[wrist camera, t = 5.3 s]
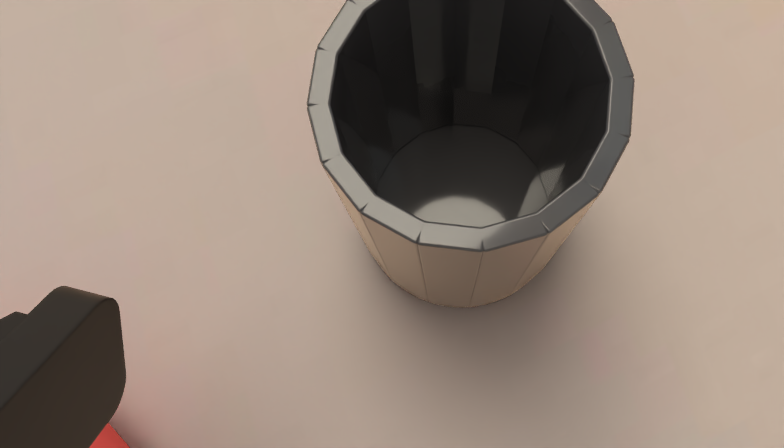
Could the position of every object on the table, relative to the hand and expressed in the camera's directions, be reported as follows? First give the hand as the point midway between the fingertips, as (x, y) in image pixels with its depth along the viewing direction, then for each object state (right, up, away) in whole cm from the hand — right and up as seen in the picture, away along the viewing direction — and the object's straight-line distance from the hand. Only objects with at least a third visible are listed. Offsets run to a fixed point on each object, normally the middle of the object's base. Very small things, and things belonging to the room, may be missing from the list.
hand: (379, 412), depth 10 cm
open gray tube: (+2, +3, +12) cm, 13 cm away
